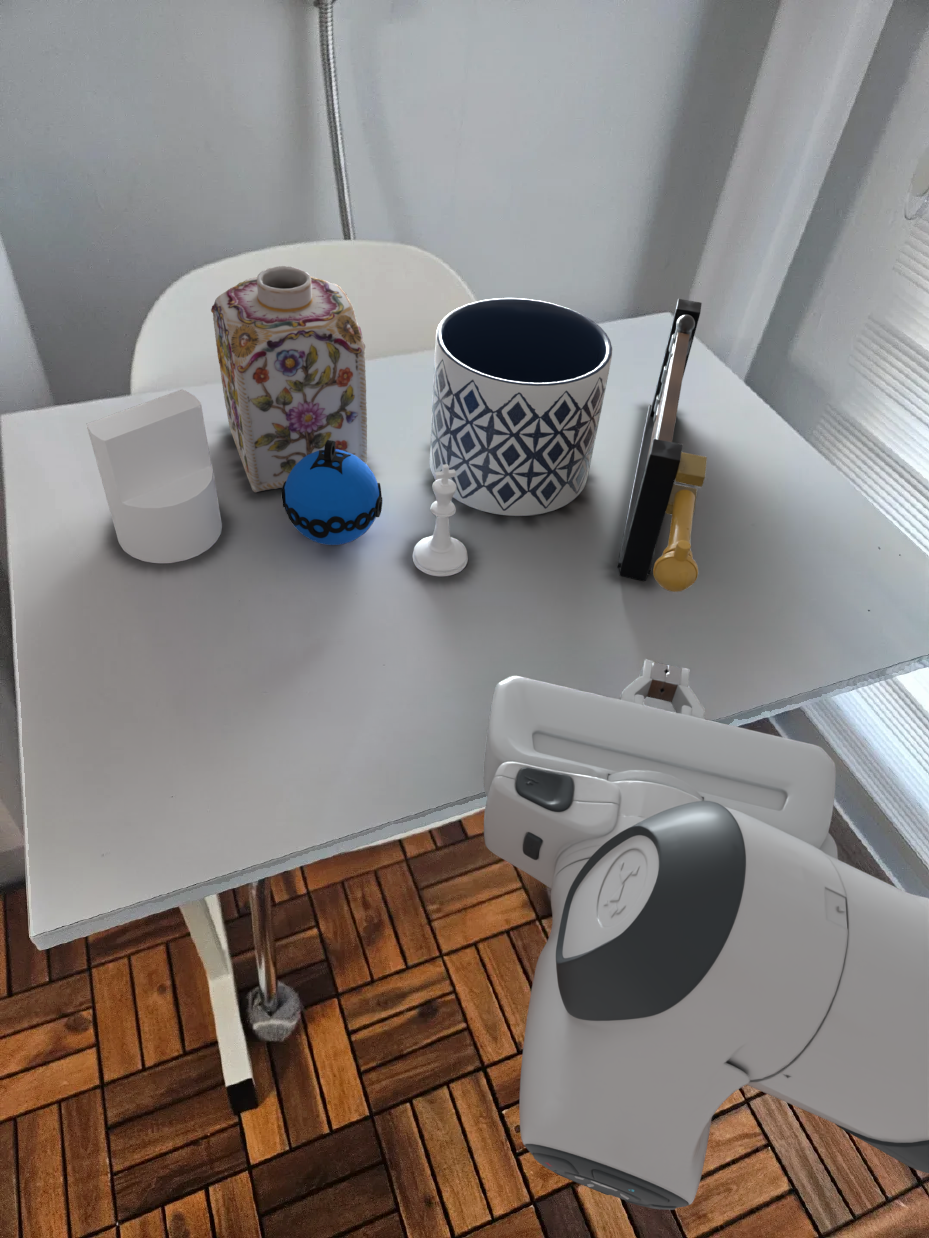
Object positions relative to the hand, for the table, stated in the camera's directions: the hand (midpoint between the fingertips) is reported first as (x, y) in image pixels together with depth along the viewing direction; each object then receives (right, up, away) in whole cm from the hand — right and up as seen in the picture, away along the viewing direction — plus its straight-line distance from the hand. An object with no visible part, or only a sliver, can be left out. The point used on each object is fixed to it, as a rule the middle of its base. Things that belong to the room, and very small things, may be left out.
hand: (664, 670), depth 57 cm
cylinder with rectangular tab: (-39, +11, +22) cm, 47 cm away
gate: (+6, +17, +31) cm, 36 cm away
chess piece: (-15, +9, +22) cm, 28 cm away
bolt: (+3, +8, +12) cm, 15 cm away
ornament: (-25, +11, +23) cm, 36 cm away
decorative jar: (-30, +20, +32) cm, 48 cm away
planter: (-9, +18, +32) cm, 38 cm away
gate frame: (+6, +16, +32) cm, 36 cm away
